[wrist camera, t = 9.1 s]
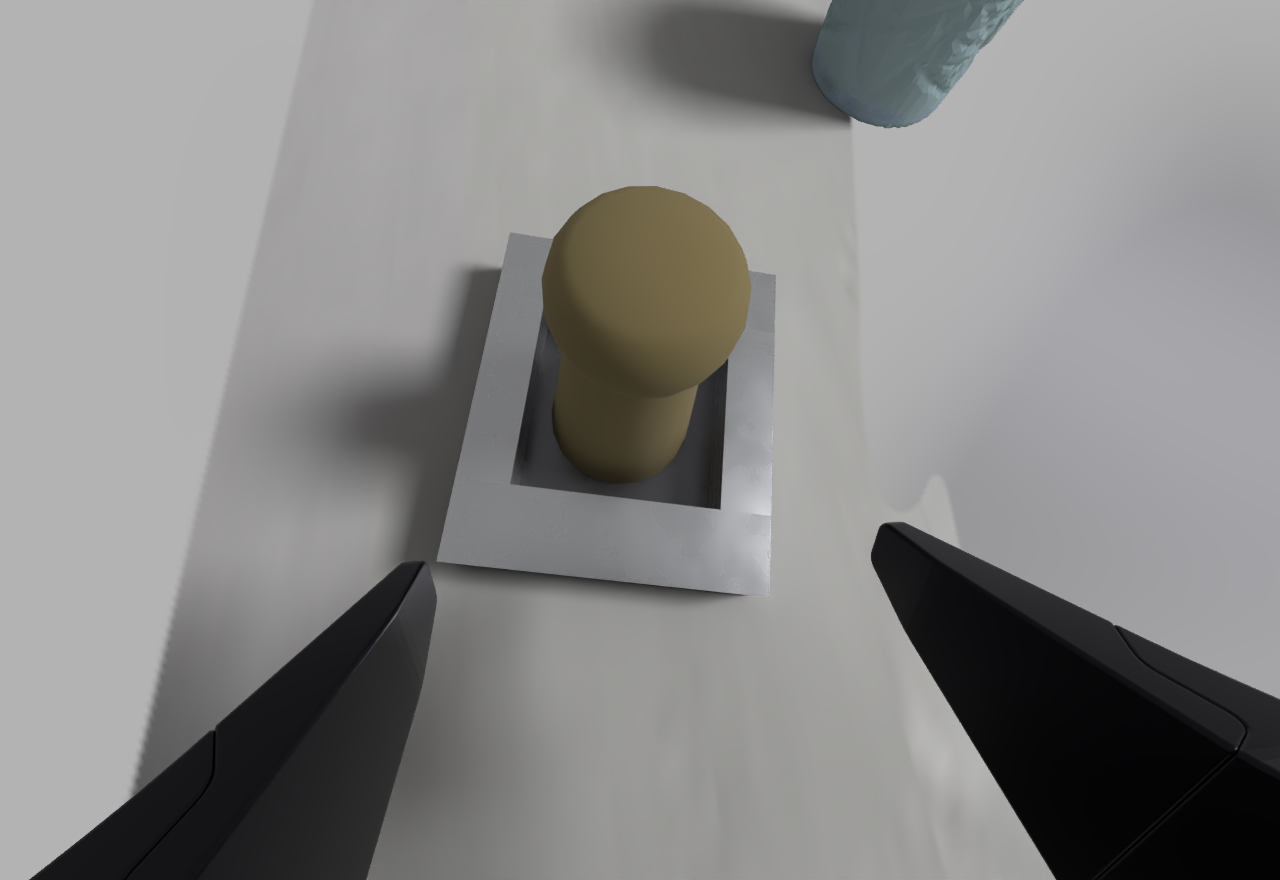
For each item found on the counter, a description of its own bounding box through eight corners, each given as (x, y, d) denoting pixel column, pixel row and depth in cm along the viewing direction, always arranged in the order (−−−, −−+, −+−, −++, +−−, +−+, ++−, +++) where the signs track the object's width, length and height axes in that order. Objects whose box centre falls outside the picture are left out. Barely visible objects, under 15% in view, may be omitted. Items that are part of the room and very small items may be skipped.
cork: (525, 394, 20) (462, 201, 10) (640, 333, 22) (689, 108, 11) (599, 511, 19) (613, 431, 9) (714, 438, 21) (843, 295, 10)
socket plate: (747, 595, 20) (775, 597, 17) (455, 563, 19) (430, 560, 16) (756, 305, 24) (781, 266, 21) (518, 268, 23) (507, 222, 20)
